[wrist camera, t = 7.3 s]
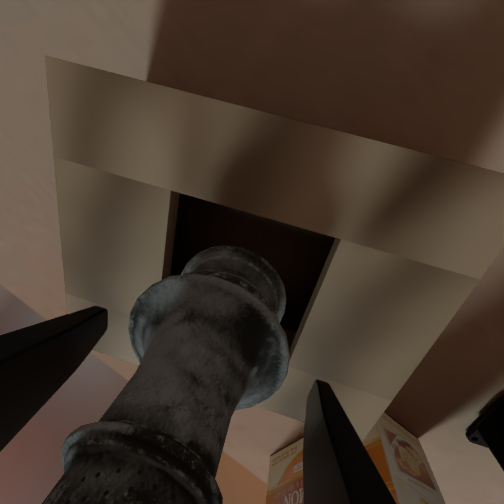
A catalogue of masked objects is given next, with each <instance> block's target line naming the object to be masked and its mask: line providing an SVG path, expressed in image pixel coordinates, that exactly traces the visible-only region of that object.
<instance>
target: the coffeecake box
mask: <svg viewBox="0 0 504 504" xmlns="http://www.w3.org/2000/svg"><path fill="white" fill-rule="evenodd" d="M303 440H304V438H302V439H300V440H298V441H297V442H295V443H293V444H291V445H289V446H288V447H286V448H284V449H282V450H281V451H279V452H277V453H275V454H274V455H272V456H270V464H269V474H268V484H267V495H266V504H304V500H303ZM362 443H363V445H364V446H365V448H366V450H367V452H368V454H369V455H370V457H371V459H372V461H373V462H374V464H375V466H376V468H377V470H378V471H379V473H380V475H381V477H382V478H383V480H384V482H385V484H386V486H387V487H388V489H389V491H390V493H391V494H392V496H393V498H394V500H395V502H396V503H397V504H445V501H444V499H443V496H442V494H441V492H440V489H439V487H438V484H437V482H436V480H435V477H434V475H433V472H432V470H431V467H430V465H429V462H428V460H427V458H426V455H425V453H424V451H423V448H422V446H421V444H420V442H419V439H417V438H416V437H415V436H413V435H412V434H411V433H410V432H408V431H407V430H406V429H404V428H403V427H401V426H400V425H399V424H398V423H396V422H395V421H394V420H393V419H392V418H391V417H389V416H388V415H387V414H386V413H385V412H384V413H383V414H382V415H381V417H380V418H379V419H378V421H377V422H376V424H375V425H374V426H373V428H372V429H371V430H370V432H369V433H368V434H367V436H366V437H365V439H364V440H363V441H362Z"/></svg>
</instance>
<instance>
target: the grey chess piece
mask: <svg viewBox="0 0 504 504" xmlns="http://www.w3.org/2000/svg"><path fill="white" fill-rule="evenodd" d="M285 306H286V293H285V288H284V284H283V282H282V280H281V278H280V276H279V274H278V272H277V271H276V270H275V269H274V268H273V267H272V266H271V265H270V263H269V262H268V261H267V260H265V259H264V258H262V257H261V256H259V255H258V254H256V253H255V252H252V251H250V250H247V249H244V248H241V247H236V246H227V245H223V246H216V247H210V248H208V249H206V250H204V251H201V252H199V253H197V254H196V255H195V256H194V257H193V258H192V259H191V260H190V261H189V262H188V263H187V264H186V266H185V268H184V269H183V271H182V273H181V275H177V276H170V277H168V278H165V279H163V280H161V281H159V282H156V283H154V284H152V285H151V286H150V287H149V288H148V289H147V290H146V291H144V292H143V293H142V294H141V295H140V296H139V297H138V298H137V300H136V302H135V304H134V306H133V308H132V310H131V312H130V319H129V328H128V330H129V335H130V341H131V346H132V349H133V351H134V353H135V355H136V357H137V359H138V361H139V363H140V364H139V367H138V369H137V371H136V373H135V374H134V375H133V377H132V378H131V379H130V381H129V382H128V383H127V385H126V386H125V387H124V388H123V390H122V391H121V392H120V394H119V395H118V396H117V398H116V399H115V400H114V402H113V403H112V404H111V406H110V407H109V408H108V410H107V411H106V412H105V414H104V415H103V417H102V418H101V419H100V420H99V421H98V422H95V423H90V424H86V425H83V426H80V427H79V428H77V429H76V430H74V431H73V432H72V433H70V434H69V436H68V437H67V438H66V440H65V442H64V444H63V446H62V464H63V466H64V475H63V476H62V477H61V479H60V480H59V481H58V483H57V484H56V485H55V487H54V488H53V489H52V491H51V492H50V494H49V495H48V496H47V498H46V499H45V500H44V502H43V503H42V504H222V499H223V497H222V495H221V492H220V490H219V487H218V485H217V482H216V480H215V476H216V473H217V469H218V464H219V461H220V457H221V454H222V450H223V446H224V442H225V439H226V435H227V431H228V427H229V423H230V420H231V417H232V415H233V413H234V411H235V410H239V409H244V408H249V407H252V406H255V405H257V404H259V403H261V402H263V401H265V400H267V399H268V398H270V397H271V396H272V395H273V394H274V393H275V392H276V391H277V390H278V389H279V388H280V387H281V385H282V383H283V381H284V379H285V378H286V376H287V374H288V367H289V359H290V351H289V347H288V342H287V337H286V334H285V332H284V330H283V328H282V327H281V325H280V321H281V319H282V317H283V315H284V313H285Z"/></svg>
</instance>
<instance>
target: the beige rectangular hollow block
mask: <svg viewBox="0 0 504 504" xmlns="http://www.w3.org/2000/svg"><path fill="white" fill-rule="evenodd" d="M45 63H46V74H47V86H48V97H49V109H50V120H51V132H52V143H53V155H54V166H55V178H56V189H57V201H58V212H59V224H60V235H61V247H62V258H63V270H64V281H65V293H66V304H67V314H70V313H73V312H76V311H79V310H82V309H86V308H89V307H92V306H100V307H103V308H106V309H107V310H108V328H107V330H106V332H105V334H104V335H103V336H102V337H101V339H100V340H99V341H98V343H97V344H96V345H95V346H94V348H93V349H92V350H95V351H98V352H101V353H104V354H107V355H110V356H113V357H116V358H119V359H121V360H124V361H127V362H130V363H133V364H136V365H139V364H140V363H139V361H138V359H137V357H136V355H135V353H134V351H133V349H132V346H131V341H130V335H129V330H128V328H129V319H130V312H131V310H132V308H133V306H134V304H135V302H136V300H137V298H138V297H139V296H140V295H141V294H142V293H143V292H144V291H146V290H147V289H148V288H149V287H150V286H151V285H152V284H154V283H156V282H159V281H161V280H163V279H165V278H168V277H170V271H171V263H172V254H173V246H174V237H175V229H176V221H177V212H178V204H179V196H180V193H182V194H185V195H189V196H192V197H196V198H199V199H203V200H206V201H210V202H213V203H217V204H220V205H223V206H227V207H230V208H234V209H237V210H241V211H244V212H248V213H251V214H255V215H258V216H262V217H265V218H269V219H272V220H276V221H279V222H282V223H286V224H289V225H293V226H296V227H300V228H303V229H307V230H310V231H314V232H317V233H321V234H324V235H328V236H331V237H335V240H334V243H333V245H332V248H331V250H330V253H329V255H328V257H327V260H326V262H325V265H324V267H323V270H322V272H321V274H320V277H319V279H318V282H317V284H316V287H315V289H314V291H313V294H312V296H311V299H310V301H309V304H308V306H307V308H306V311H305V313H304V316H303V318H302V321H301V323H300V325H299V328H298V330H297V332H295V331H292V330H289V329H286V328H283V327H282V328H283V330H284V332H285V334H286V337H287V342H288V347H289V351H290V359H289V367H288V374H287V376H286V378H285V379H284V381H283V383H282V385H281V387H280V388H279V389H278V390H277V391H276V392H275V393H274V394H273V395H272V396H271V397H270V398H268V399H267V400H265V401H263V402H261V403H259V404H257V405H255V406H258V407H261V408H264V409H267V410H270V411H273V412H276V413H278V414H281V415H284V416H287V417H290V418H293V419H296V420H299V421H302V422H305V415H306V402H307V397H308V394H309V392H310V390H311V388H312V386H313V384H314V382H315V380H317V379H319V380H322V381H325V382H327V383H329V384H330V386H331V388H332V390H333V391H334V393H335V395H336V397H337V398H338V400H339V402H340V404H341V406H342V407H343V409H344V411H345V413H346V414H347V416H348V418H349V420H350V422H351V423H352V425H353V427H354V429H355V430H356V432H357V434H358V436H359V438H360V439H361V441H363V440H364V439H365V437H366V436H367V434H368V433H369V432H370V430H371V429H372V428H373V426H374V425H375V424H376V422H377V421H378V419H379V418H380V417H381V415H382V414H383V413H384V411H385V410H386V408H387V407H388V406H389V404H390V403H391V402H392V400H393V399H394V397H395V396H396V395H397V393H398V392H399V391H400V389H401V388H402V387H403V385H404V384H405V382H406V381H407V380H408V378H409V377H410V376H411V374H412V373H413V371H414V370H415V369H416V367H417V366H418V365H419V363H420V362H421V360H422V359H423V358H424V356H425V355H426V354H427V352H428V351H429V350H430V348H431V347H432V345H433V344H434V343H435V341H436V340H437V339H438V337H439V336H440V334H441V333H442V332H443V330H444V329H445V328H446V326H447V325H448V323H449V322H450V321H451V319H452V318H453V317H454V315H455V314H456V313H457V311H458V310H459V308H460V307H461V306H462V304H463V303H464V302H465V300H466V299H467V297H468V296H469V295H470V293H471V292H472V291H473V289H474V288H475V286H476V285H477V284H478V282H479V281H480V280H481V278H482V277H483V276H484V274H485V273H486V271H487V270H488V269H489V267H490V266H491V265H492V263H493V262H494V260H495V259H496V258H497V256H498V255H499V254H500V252H501V251H502V249H503V248H504V173H500V172H496V171H493V170H489V169H485V168H481V167H477V166H473V165H469V164H465V163H461V162H458V161H454V160H450V159H446V158H442V157H438V156H434V155H430V154H426V153H423V152H419V151H415V150H411V149H407V148H403V147H399V146H395V145H391V144H388V143H384V142H380V141H376V140H372V139H368V138H364V137H360V136H356V135H353V134H349V133H345V132H341V131H337V130H333V129H329V128H325V127H321V126H318V125H314V124H310V123H306V122H302V121H298V120H294V119H290V118H286V117H282V116H279V115H275V114H271V113H267V112H263V111H259V110H255V109H251V108H247V107H244V106H240V105H236V104H232V103H228V102H224V101H220V100H216V99H212V98H209V97H205V96H201V95H197V94H193V93H189V92H185V91H181V90H177V89H174V88H170V87H166V86H162V85H158V84H154V83H150V82H146V81H142V80H139V79H135V78H131V77H127V76H123V75H119V74H115V73H111V72H107V71H104V70H100V69H96V68H92V67H88V66H84V65H80V64H76V63H72V62H69V61H65V60H61V59H57V58H53V57H49V56H45Z"/></svg>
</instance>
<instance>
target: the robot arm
mask: <svg viewBox="0 0 504 504" xmlns="http://www.w3.org/2000/svg"><path fill="white" fill-rule="evenodd" d="M107 328H108V310H107V309H106V308H103V307H100V306H92V307H89V308H86V309H82V310H79V311H76V312H73V313H70V314H67V315H63V316H60V317H57V318H54V319H51V320H48V321H44V322H41V323H38V324H35V325H32V326H29V327H26V328H22V329H19V330H16V331H13V332H9V333H6V334H3V335H0V451H1V450H2V449H3V448H4V447H5V446H6V445H7V444H8V443H9V442H10V441H11V440H12V439H13V438H14V436H15V435H16V434H17V433H18V432H19V431H20V430H21V429H22V428H23V427H24V426H25V425H26V424H27V422H28V421H29V420H30V419H31V418H32V417H33V416H34V415H35V414H36V413H37V412H38V411H39V409H40V408H41V407H42V406H43V405H44V404H45V403H46V402H47V401H48V400H49V399H50V398H51V397H52V396H53V394H54V393H55V392H56V391H57V390H58V389H59V388H60V387H61V386H62V385H63V384H64V383H65V381H67V379H68V378H69V377H70V376H71V375H72V374H73V373H74V372H75V371H76V369H77V368H78V367H79V366H80V365H81V363H82V362H83V361H84V359H85V358H86V357H87V355H88V354H89V353H90V352H91V350H92V349H93V348H94V346H95V345H96V344H97V343H98V341H99V340H100V339H101V337H102V336H103V335H104V334H105V332H106V330H107ZM466 437H467V438H468V440H469V441H470V442H472V443H475V444H478V445H481V446H484V447H487V448H489V449H490V451H491V452H492V454H493V455H494V457H495V458H496V460H497V462H498V463H499V465H500V466H501V468H502V469H503V471H504V395H503V396H502V397H501V398H500V399H499V400H498V401H497V402H496V403H495V404H494V405H493V406H492V407H491V408H490V409H489V410H488V411H487V412H486V413H485V414H484V415H483V416H482V417H481V418H480V419H479V420H478V421H477V422H476V423H475V424H474V425H473V426H472V427H471V428H470V429H469V430H468V431H467V432H466ZM303 500H304V504H397V503H396V502H395V500H394V498H393V496H392V494H391V493H390V491H389V489H388V487H387V486H386V484H385V482H384V480H383V478H382V477H381V475H380V473H379V471H378V470H377V468H376V466H375V464H374V462H373V461H372V459H371V457H370V455H369V454H368V452H367V450H366V448H365V446H364V445H363V443H362V441H361V439H360V438H359V436H358V434H357V432H356V430H355V429H354V427H353V425H352V423H351V422H350V420H349V418H348V416H347V414H346V413H345V411H344V409H343V407H342V406H341V404H340V402H339V400H338V398H337V397H336V395H335V393H334V391H333V390H332V388H331V386H330V384H329V383H327V382H325V381H322V380H319V379H317V380H315V382H314V384H313V386H312V388H311V390H310V392H309V394H308V397H307V402H306V415H305V427H304V440H303Z"/></svg>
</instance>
